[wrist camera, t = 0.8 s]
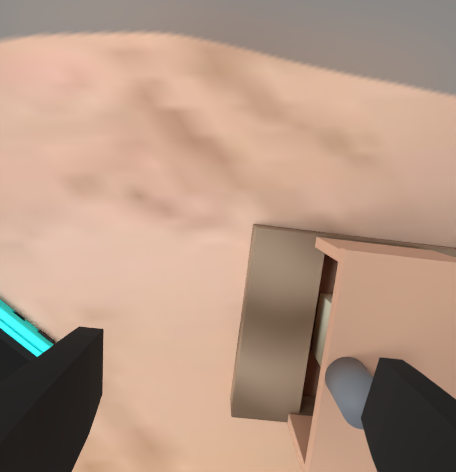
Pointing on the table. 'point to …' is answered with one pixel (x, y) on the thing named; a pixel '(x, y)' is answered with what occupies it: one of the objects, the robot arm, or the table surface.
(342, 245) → the slide cover
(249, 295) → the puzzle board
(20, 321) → the handheld game console
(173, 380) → the table surface
